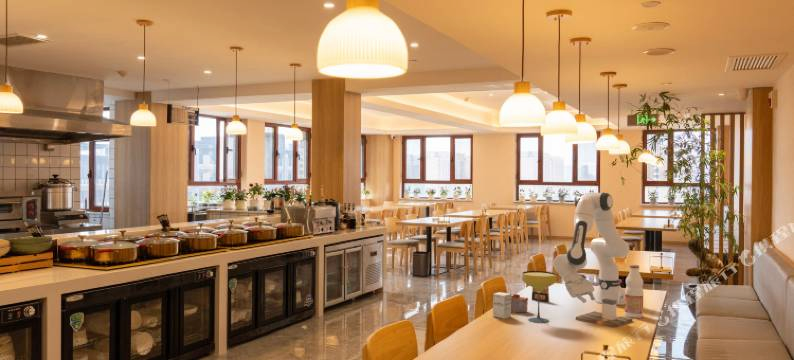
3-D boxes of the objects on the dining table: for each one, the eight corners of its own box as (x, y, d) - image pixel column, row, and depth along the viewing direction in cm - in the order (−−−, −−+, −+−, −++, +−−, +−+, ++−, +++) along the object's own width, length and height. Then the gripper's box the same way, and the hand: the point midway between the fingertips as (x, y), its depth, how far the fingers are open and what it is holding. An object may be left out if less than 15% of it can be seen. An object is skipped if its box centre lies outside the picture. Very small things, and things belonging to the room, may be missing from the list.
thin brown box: (549, 301, 377) (549, 282, 377) (547, 302, 376) (548, 282, 376) (532, 299, 384) (533, 280, 384) (531, 299, 382) (531, 280, 382)
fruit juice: (632, 318, 336) (633, 267, 336) (621, 314, 345) (621, 264, 344) (646, 317, 339) (647, 266, 339) (634, 313, 348) (635, 263, 348)
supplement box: (492, 316, 337) (492, 293, 336) (499, 314, 342) (500, 291, 342) (503, 319, 332) (504, 295, 331) (511, 316, 337) (511, 293, 337)
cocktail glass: (536, 326, 317) (537, 277, 317) (514, 318, 333) (514, 272, 333) (563, 322, 325) (564, 275, 325) (540, 315, 341) (541, 269, 341)
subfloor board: (594, 313, 346) (594, 311, 346) (632, 321, 330) (632, 318, 330) (575, 319, 332) (575, 316, 332) (614, 327, 316) (614, 324, 316)
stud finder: (605, 316, 333) (606, 298, 332) (616, 319, 328) (616, 300, 328) (601, 318, 330) (602, 299, 330) (612, 320, 326) (612, 301, 325)
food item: (529, 311, 351) (529, 293, 351) (526, 314, 344) (526, 296, 344) (505, 308, 357) (505, 291, 356) (502, 311, 349) (502, 294, 349)
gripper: (567, 279, 335) (583, 300, 329) (586, 275, 350) (602, 295, 343) (559, 286, 339) (575, 307, 332) (579, 281, 353) (595, 301, 346)
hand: (589, 300), depth 337 cm, fingers open, 8 cm apart
